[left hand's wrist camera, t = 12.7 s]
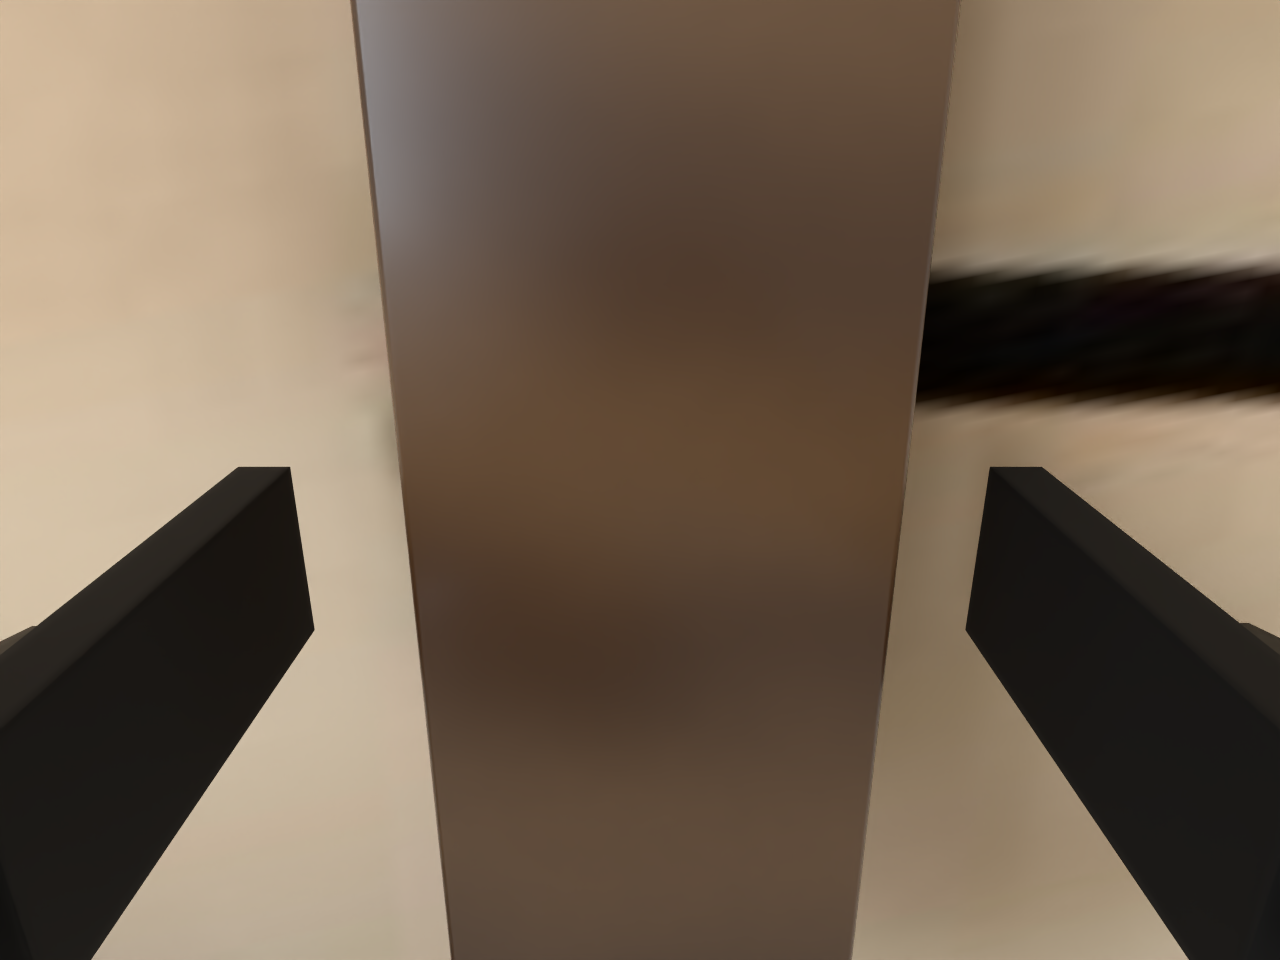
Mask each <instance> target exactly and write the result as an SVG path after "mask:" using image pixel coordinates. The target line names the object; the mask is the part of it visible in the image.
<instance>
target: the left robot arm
mask: <svg viewBox="0 0 1280 960" xmlns="http://www.w3.org/2000/svg"><path fill="white" fill-rule="evenodd" d="M313 631H314V623H313V616H312V610H311V603H310V596H309V590H308V583H307V577H306V570H305V563H304V557H303V550H302V543H301V537H300V530H299V523H298V517H297V510H296V503H295V497H294V490H293V483H292V477H291V470H290V467H238V468H236V469H235V470H234V471H233V472H231V473H230V474H229V475H227V476H226V477H225V478H224V479H222V480H221V481H220V482H219V483H217V484H216V485H215V486H214V487H212V488H211V489H210V490H208V491H207V492H206V493H205V494H203V495H202V496H201V497H200V498H198V499H197V500H196V501H195V502H193V503H192V504H191V505H189V506H188V507H187V508H186V509H184V510H183V511H182V512H181V513H179V514H178V515H177V516H176V517H174V518H173V519H172V520H170V521H169V522H168V523H167V524H165V525H164V526H163V527H162V528H160V529H159V530H158V531H157V532H155V533H154V534H153V535H151V536H150V537H149V538H148V539H146V540H145V541H144V542H143V543H141V544H140V545H139V546H138V547H136V548H135V549H134V550H132V551H131V552H130V553H129V554H127V555H126V556H125V557H124V558H122V559H121V560H120V561H119V562H117V563H116V564H115V565H113V566H112V567H111V568H110V569H108V570H107V571H106V572H105V573H103V574H102V575H101V576H100V577H98V578H97V579H96V580H94V581H93V582H92V583H91V584H89V585H88V586H87V587H86V588H84V589H83V590H82V591H81V592H79V593H78V594H77V595H75V596H74V597H73V598H72V599H70V600H69V601H68V602H67V603H65V604H64V605H63V606H62V607H60V608H59V609H58V610H56V611H55V612H54V613H53V614H51V615H50V616H49V617H48V618H46V619H45V620H44V621H43V622H41V623H40V624H39V625H37V626H32V627H29V628H27V629H25V630H23V631H21V632H19V633H17V634H15V635H13V636H11V637H9V638H7V639H5V640H3V641H1V642H0V960H91V959H92V958H93V956H94V955H95V953H96V952H97V950H98V949H99V947H100V946H101V944H102V943H103V941H104V940H105V938H106V937H107V935H108V934H109V932H110V931H111V930H112V928H113V927H114V925H115V924H116V922H117V921H118V919H119V918H120V916H121V915H122V913H123V912H124V910H125V909H126V907H127V906H128V904H129V903H130V901H131V900H132V899H133V897H134V896H135V894H136V893H137V891H138V890H139V888H140V887H141V885H142V884H143V882H144V881H145V879H146V878H147V876H148V875H149V873H150V872H151V870H152V869H153V868H154V866H155V865H156V863H157V862H158V860H159V859H160V857H161V856H162V854H163V853H164V851H165V850H166V848H167V847H168V845H169V844H170V842H171V841H172V840H173V838H174V837H175V835H176V834H177V832H178V831H179V829H180V828H181V826H182V825H183V823H184V822H185V820H186V819H187V817H188V816H189V814H190V813H191V811H192V810H193V809H194V807H195V806H196V804H197V803H198V801H199V800H200V798H201V797H202V795H203V794H204V792H205V791H206V789H207V788H208V786H209V785H210V783H211V782H212V780H213V779H214V778H215V776H216V775H217V773H218V772H219V770H220V769H221V767H222V766H223V764H224V763H225V761H226V760H227V758H228V757H229V755H230V754H231V752H232V751H233V750H234V748H235V747H236V745H237V744H238V742H239V741H240V739H241V738H242V736H243V735H244V733H245V732H246V730H247V729H248V727H249V726H250V724H251V723H252V721H253V720H254V719H255V717H256V716H257V714H258V713H259V711H260V710H261V708H262V707H263V705H264V704H265V702H266V701H267V699H268V698H269V696H270V695H271V693H272V692H273V690H274V689H275V688H276V686H277V685H278V683H279V682H280V680H281V679H282V677H283V676H284V674H285V673H286V671H287V670H288V668H289V667H290V665H291V664H292V662H293V661H294V660H295V658H296V657H297V655H298V654H299V652H300V651H301V649H302V648H303V646H304V645H305V643H306V642H307V640H308V639H309V637H310V636H311V634H312V633H313ZM966 631H967V633H968V634H969V636H970V637H971V639H972V640H973V642H974V643H975V645H976V646H977V648H978V649H979V651H980V652H981V654H982V655H983V657H984V658H985V659H986V661H987V662H988V664H989V665H990V667H991V668H992V670H993V671H994V673H995V674H996V676H997V677H998V679H999V680H1000V682H1001V683H1002V685H1003V686H1004V688H1005V689H1006V690H1007V692H1008V693H1009V695H1010V696H1011V698H1012V699H1013V701H1014V702H1015V704H1016V705H1017V707H1018V708H1019V710H1020V711H1021V713H1022V714H1023V716H1024V717H1025V718H1026V720H1027V721H1028V723H1029V724H1030V726H1031V727H1032V729H1033V730H1034V732H1035V733H1036V735H1037V736H1038V738H1039V739H1040V741H1041V742H1042V744H1043V745H1044V747H1045V748H1046V749H1047V751H1048V752H1049V754H1050V755H1051V757H1052V758H1053V760H1054V761H1055V763H1056V764H1057V766H1058V767H1059V769H1060V770H1061V772H1062V773H1063V775H1064V776H1065V778H1066V779H1067V780H1068V782H1069V783H1070V785H1071V786H1072V788H1073V789H1074V791H1075V792H1076V794H1077V795H1078V797H1079V798H1080V800H1081V801H1082V803H1083V804H1084V806H1085V807H1086V808H1087V810H1088V811H1089V813H1090V814H1091V816H1092V817H1093V819H1094V820H1095V822H1096V823H1097V825H1098V826H1099V828H1100V829H1101V831H1102V832H1103V834H1104V835H1105V837H1106V838H1107V839H1108V841H1109V842H1110V844H1111V845H1112V847H1113V848H1114V850H1115V851H1116V853H1117V854H1118V856H1119V857H1120V859H1121V860H1122V862H1123V863H1124V865H1125V866H1126V868H1127V869H1128V870H1129V872H1130V873H1131V875H1132V876H1133V878H1134V879H1135V881H1136V882H1137V884H1138V885H1139V887H1140V888H1141V890H1142V891H1143V893H1144V894H1145V896H1146V897H1147V898H1148V900H1149V901H1150V903H1151V904H1152V906H1153V907H1154V909H1155V910H1156V912H1157V913H1158V915H1159V916H1160V918H1161V919H1162V921H1163V922H1164V924H1165V925H1166V927H1167V928H1168V929H1169V931H1170V932H1171V934H1172V935H1173V937H1174V938H1175V940H1176V941H1177V943H1178V944H1179V946H1180V947H1181V949H1182V950H1183V952H1184V953H1185V955H1186V956H1187V958H1188V959H1189V960H1280V638H1279V637H1277V636H1275V635H1273V634H1270V633H1268V632H1266V631H1264V630H1262V629H1260V628H1258V627H1256V626H1254V625H1252V624H1250V623H1239V622H1237V621H1236V620H1235V619H1234V618H1232V617H1231V616H1230V615H1229V614H1227V613H1226V612H1225V611H1224V610H1222V609H1221V608H1220V607H1218V606H1217V605H1216V604H1215V603H1213V602H1212V601H1211V600H1210V599H1208V598H1207V597H1206V596H1205V595H1203V594H1202V593H1201V592H1199V591H1198V590H1197V589H1196V588H1194V587H1193V586H1192V585H1191V584H1189V583H1188V582H1187V581H1186V580H1184V579H1183V578H1182V577H1180V576H1179V575H1178V574H1177V573H1175V572H1174V571H1173V570H1172V569H1170V568H1169V567H1168V566H1167V565H1165V564H1164V563H1163V562H1161V561H1160V560H1159V559H1158V558H1156V557H1155V556H1154V555H1153V554H1151V553H1150V552H1149V551H1148V550H1146V549H1145V548H1144V547H1142V546H1141V545H1140V544H1139V543H1137V542H1136V541H1135V540H1134V539H1132V538H1131V537H1130V536H1129V535H1127V534H1126V533H1125V532H1124V531H1122V530H1121V529H1120V528H1118V527H1117V526H1116V525H1115V524H1113V523H1112V522H1111V521H1110V520H1108V519H1107V518H1106V517H1105V516H1103V515H1102V514H1101V513H1099V512H1098V511H1097V510H1096V509H1094V508H1093V507H1092V506H1091V505H1089V504H1088V503H1087V502H1086V501H1084V500H1083V499H1082V498H1080V497H1079V496H1078V495H1077V494H1075V493H1074V492H1073V491H1072V490H1070V489H1069V488H1068V487H1067V486H1065V485H1064V484H1063V483H1061V482H1060V481H1059V480H1058V479H1056V478H1055V477H1054V476H1053V475H1051V474H1050V473H1049V472H1048V471H1046V470H1045V469H1044V468H1042V467H990V470H989V477H988V484H987V490H986V497H985V504H984V510H983V517H982V523H981V530H980V537H979V543H978V550H977V557H976V563H975V570H974V577H973V583H972V590H971V597H970V603H969V610H968V616H967V623H966Z"/></svg>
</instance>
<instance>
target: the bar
mask: <svg viewBox="0 0 1280 960" xmlns="http://www.w3.org/2000/svg"><path fill="white" fill-rule="evenodd" d="M350 4H351V13H352V23H353V32H354V42H355V51H356V61H357V70H358V80H359V89H360V99H361V108H362V118H363V127H364V137H365V146H366V156H367V165H368V175H369V184H370V194H371V203H372V213H373V222H374V232H375V241H376V250H377V260H378V269H379V279H380V288H381V298H382V307H383V317H384V326H385V336H386V345H387V355H388V364H389V374H390V383H391V393H392V402H393V412H394V421H395V431H396V440H397V450H398V459H399V469H400V478H401V488H402V497H403V507H404V516H405V526H406V535H407V545H408V554H409V564H410V573H411V583H412V592H413V602H414V611H415V621H416V630H417V640H418V649H419V659H420V668H421V678H422V687H423V697H424V706H425V716H426V725H427V735H428V744H429V754H430V763H431V773H432V782H433V792H434V801H435V811H436V820H437V830H438V839H439V849H440V858H441V868H442V877H443V887H444V896H445V906H446V915H447V925H448V934H449V944H450V953H451V960H852V953H853V944H854V935H855V926H856V918H857V909H858V900H859V891H860V883H861V874H862V865H863V856H864V847H865V839H866V830H867V821H868V812H869V804H870V795H871V786H872V777H873V769H874V760H875V751H876V742H877V733H878V725H879V716H880V707H881V698H882V690H883V681H884V672H885V663H886V655H887V646H888V637H889V628H890V620H891V611H892V602H893V593H894V584H895V576H896V567H897V558H898V549H899V541H900V532H901V523H902V514H903V506H904V497H905V488H906V479H907V470H908V462H909V453H910V444H911V435H912V427H913V418H914V409H915V400H916V392H917V383H918V374H919V365H920V356H921V348H922V339H923V330H924V321H925V313H926V304H927V295H928V286H929V278H930V269H931V260H932V251H933V242H934V234H935V225H936V216H937V207H938V199H939V190H940V181H941V172H942V164H943V155H944V146H945V137H946V128H947V120H948V111H949V102H950V93H951V85H952V76H953V67H954V58H955V50H956V41H957V32H958V23H959V14H960V6H961V0H350Z"/></svg>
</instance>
